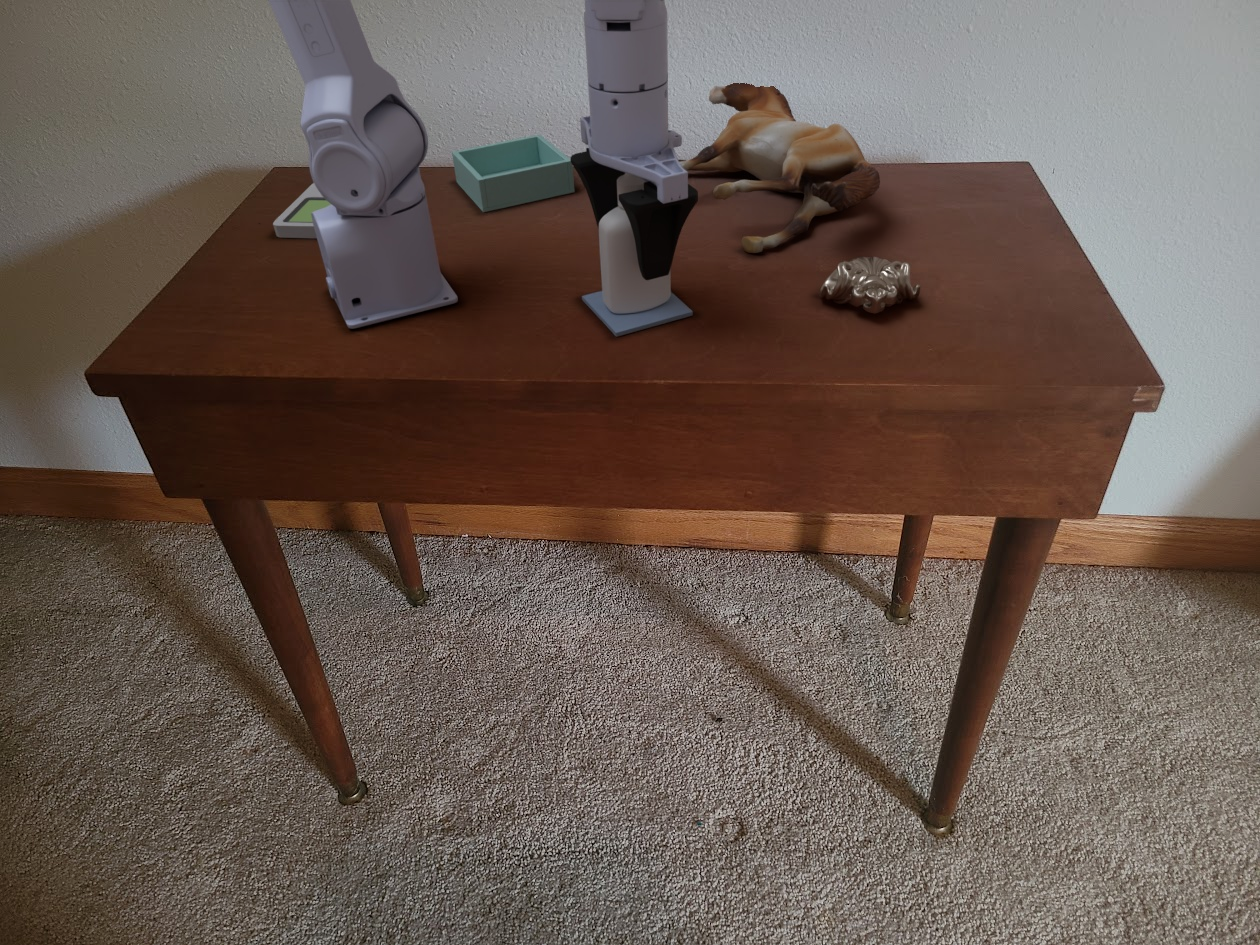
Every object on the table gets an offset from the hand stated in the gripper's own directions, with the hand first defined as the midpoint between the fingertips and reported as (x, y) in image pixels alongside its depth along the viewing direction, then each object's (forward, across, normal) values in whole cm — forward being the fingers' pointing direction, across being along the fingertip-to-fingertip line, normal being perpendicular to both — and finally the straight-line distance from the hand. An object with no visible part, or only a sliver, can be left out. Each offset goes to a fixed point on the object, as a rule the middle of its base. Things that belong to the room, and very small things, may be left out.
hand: (634, 256), depth 73 cm
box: (+5, +30, 0) cm, 30 cm away
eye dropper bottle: (+4, 0, 0) cm, 4 cm away
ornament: (+5, -9, -17) cm, 20 cm away
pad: (+5, 0, 0) cm, 5 cm away
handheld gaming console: (+5, +34, +17) cm, 38 cm away
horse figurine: (-1, +13, -11) cm, 17 cm away
